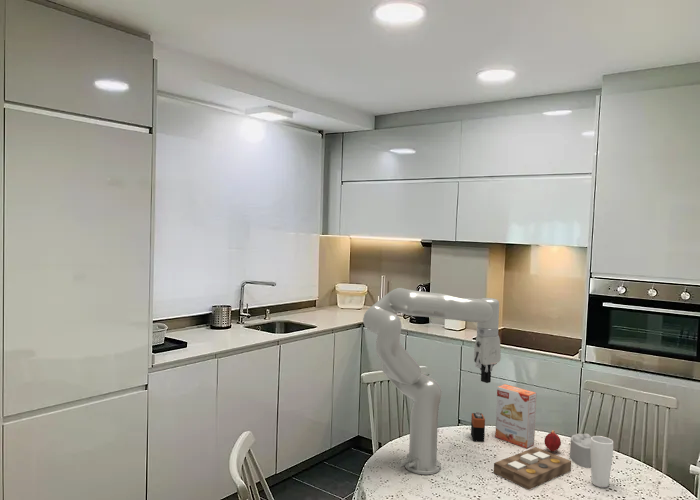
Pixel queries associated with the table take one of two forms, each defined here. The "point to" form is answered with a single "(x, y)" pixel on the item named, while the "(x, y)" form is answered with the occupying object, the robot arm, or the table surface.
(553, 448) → the onion
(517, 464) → the button left
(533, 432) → the cracker box
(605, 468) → the drinking glass
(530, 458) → the button middle
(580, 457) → the lumpy-topped squat cylinder
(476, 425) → the battery
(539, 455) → the button right
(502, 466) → the button board
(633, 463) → the table surface
